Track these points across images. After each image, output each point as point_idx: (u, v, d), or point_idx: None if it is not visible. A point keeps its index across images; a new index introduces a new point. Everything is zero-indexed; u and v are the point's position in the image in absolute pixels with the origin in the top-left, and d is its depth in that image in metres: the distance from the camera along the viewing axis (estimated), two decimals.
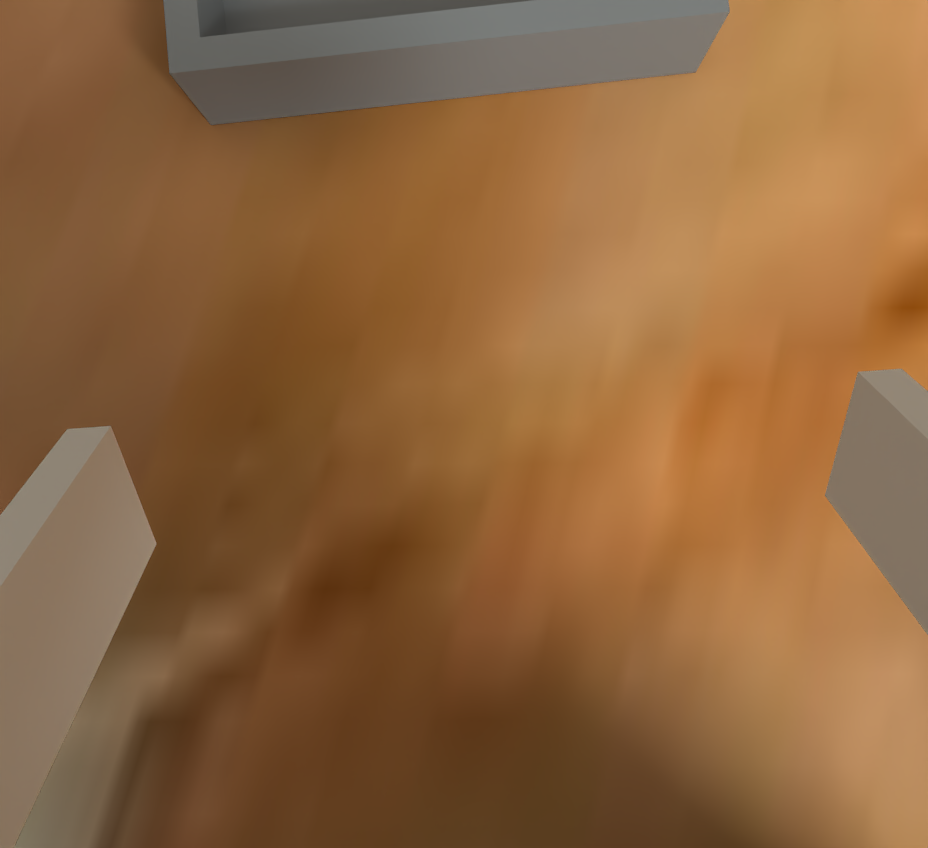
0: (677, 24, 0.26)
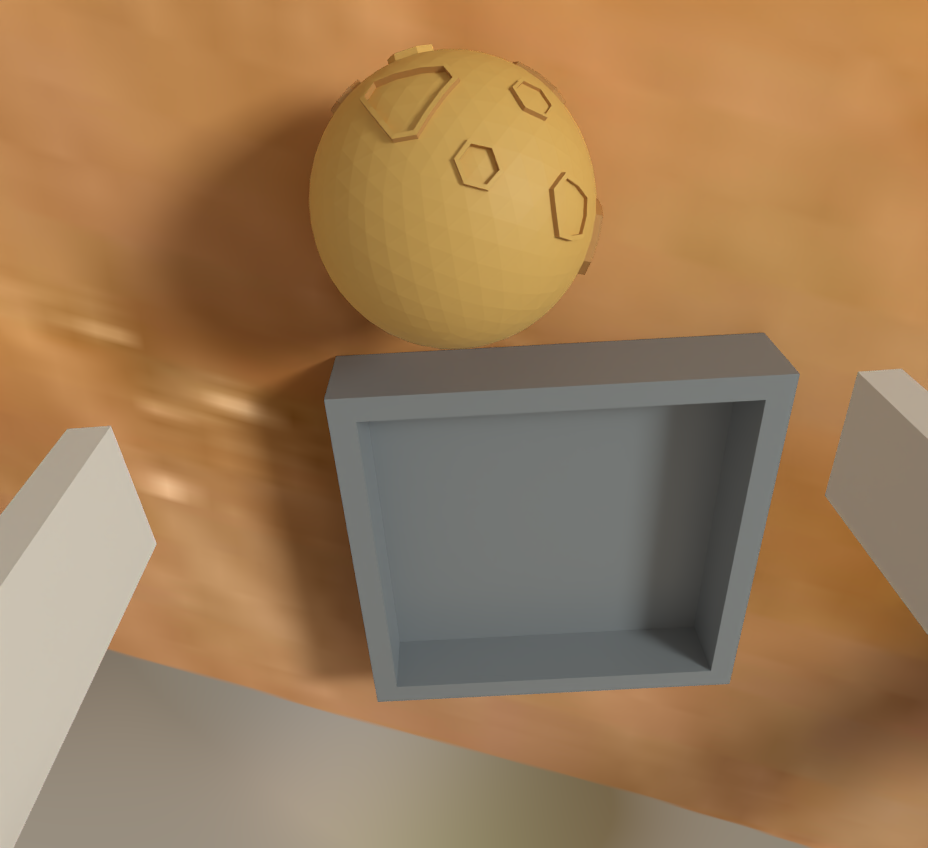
0: None
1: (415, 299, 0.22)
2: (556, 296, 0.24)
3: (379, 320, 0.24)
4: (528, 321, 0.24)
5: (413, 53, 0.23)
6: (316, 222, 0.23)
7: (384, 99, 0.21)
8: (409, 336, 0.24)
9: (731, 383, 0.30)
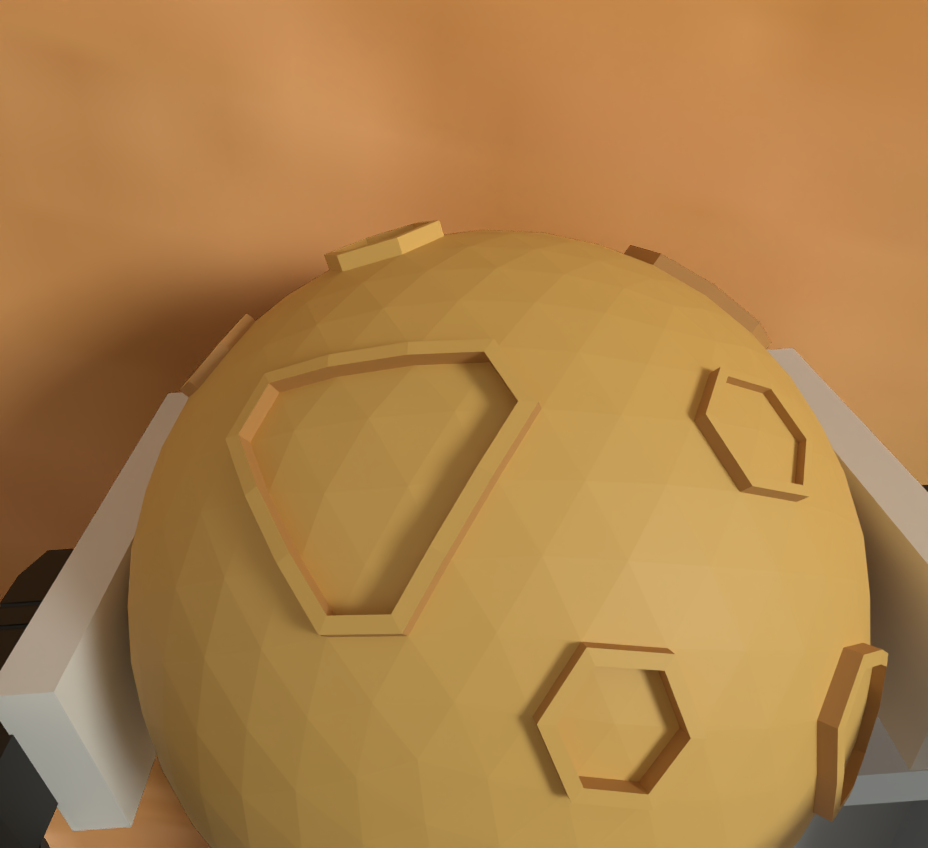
0: None
1: None
2: None
3: None
4: None
5: (390, 255, 0.08)
6: None
7: (300, 452, 0.07)
8: None
9: None
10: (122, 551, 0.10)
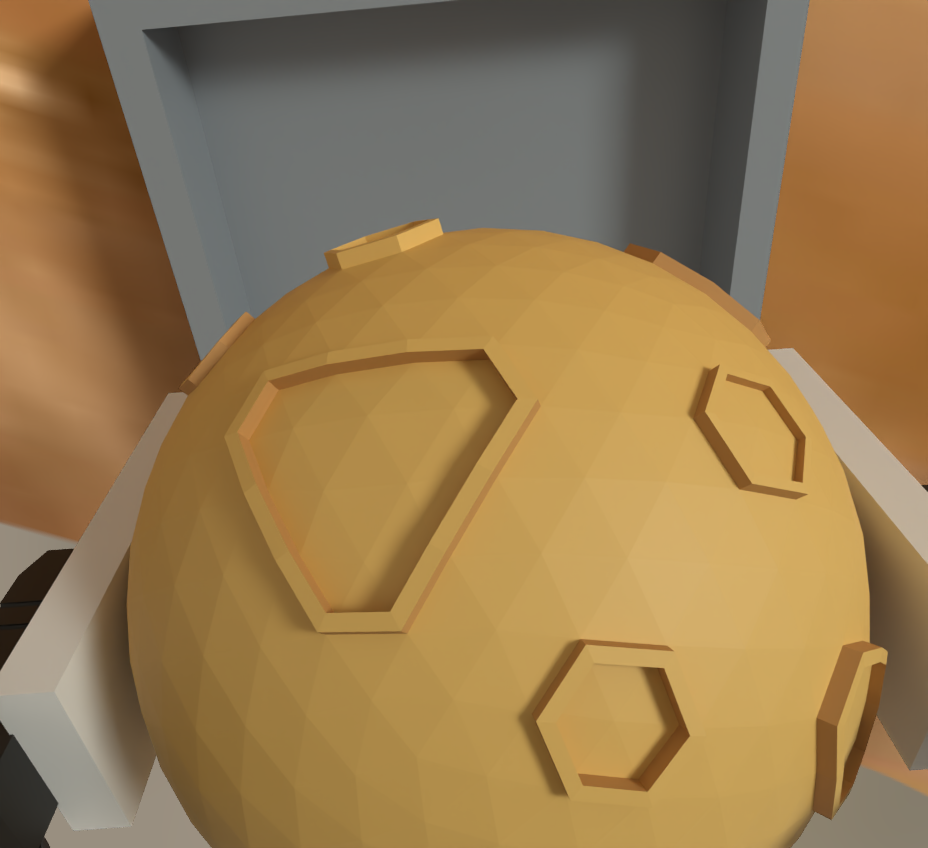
0: None
1: None
2: None
3: None
4: None
5: (389, 253, 0.08)
6: None
7: (300, 450, 0.07)
8: None
9: None
10: (122, 551, 0.10)
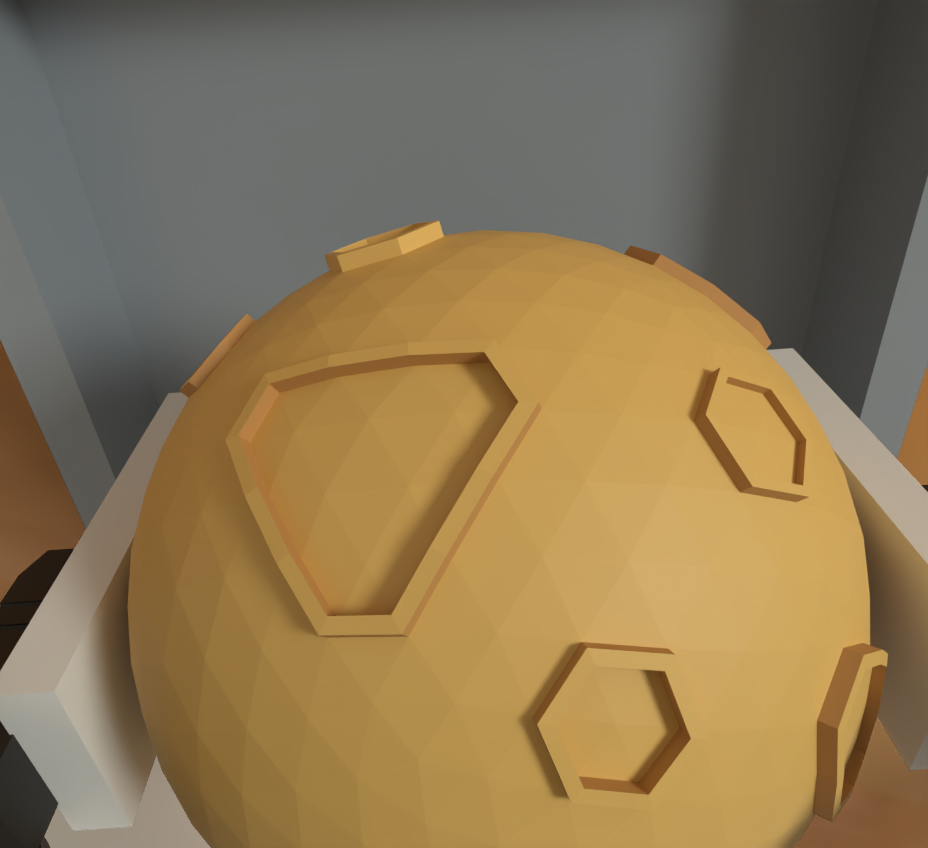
0: None
1: None
2: None
3: None
4: None
5: (390, 256, 0.08)
6: None
7: (301, 452, 0.07)
8: None
9: None
10: (122, 551, 0.10)
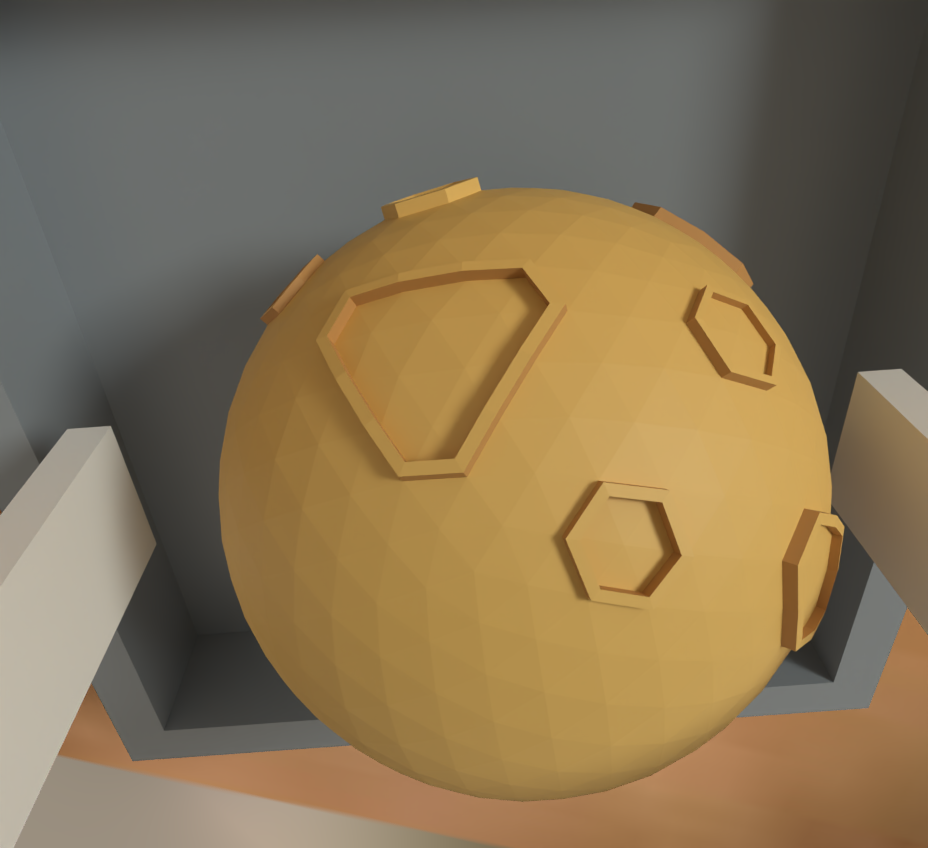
0: None
1: (455, 782, 0.10)
2: None
3: None
4: None
5: (439, 204, 0.10)
6: (231, 573, 0.11)
7: (377, 349, 0.09)
8: None
9: None
10: None
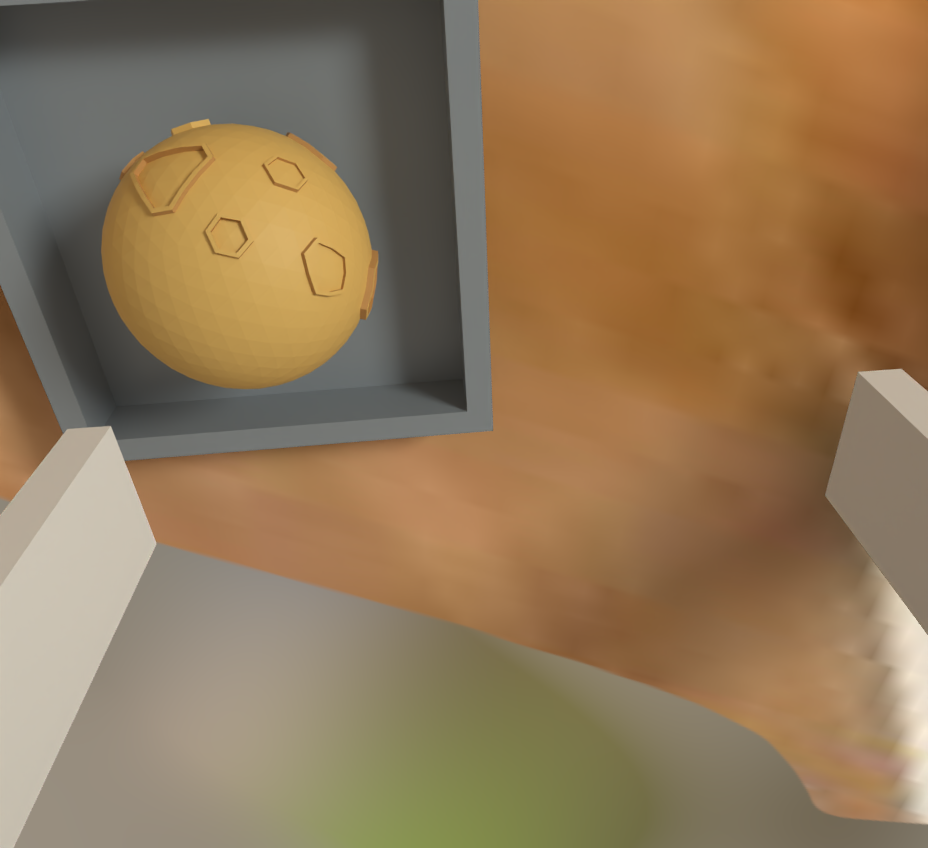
0: None
1: (191, 351, 0.25)
2: (332, 342, 0.27)
3: (171, 367, 0.27)
4: (309, 364, 0.27)
5: (188, 128, 0.25)
6: (106, 281, 0.26)
7: (150, 175, 0.24)
8: (201, 380, 0.27)
9: None
10: None
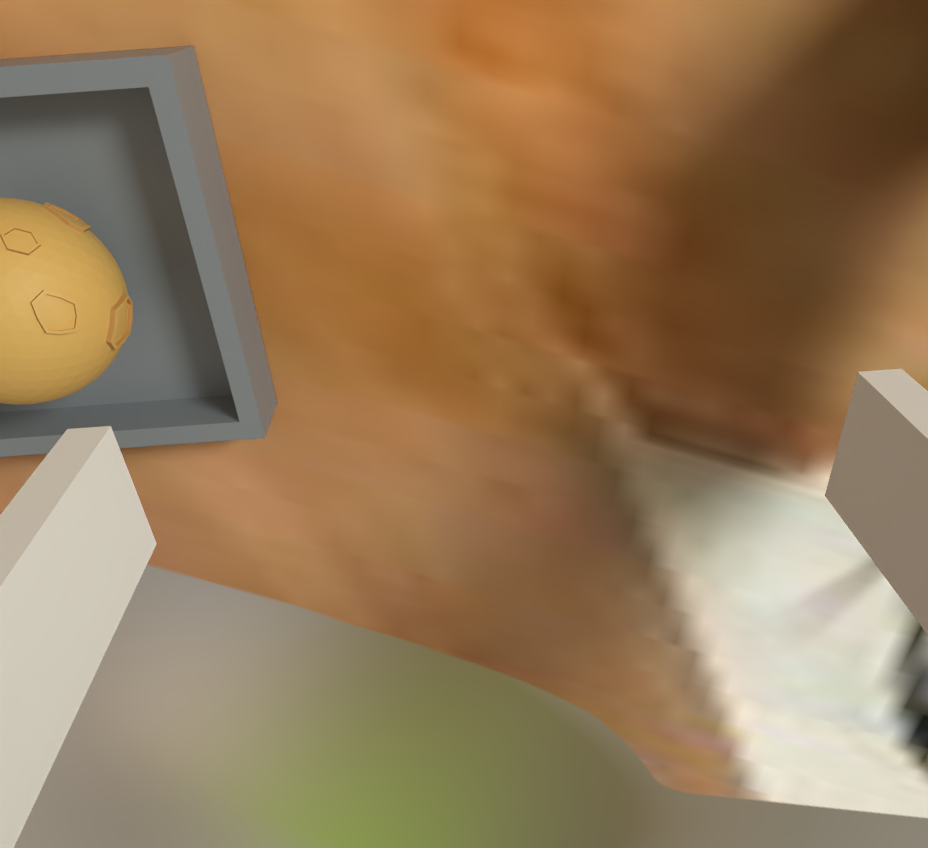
0: (181, 96, 0.33)
1: None
2: (79, 368, 0.34)
3: None
4: (62, 386, 0.34)
5: None
6: None
7: None
8: None
9: (105, 67, 0.31)
10: None
